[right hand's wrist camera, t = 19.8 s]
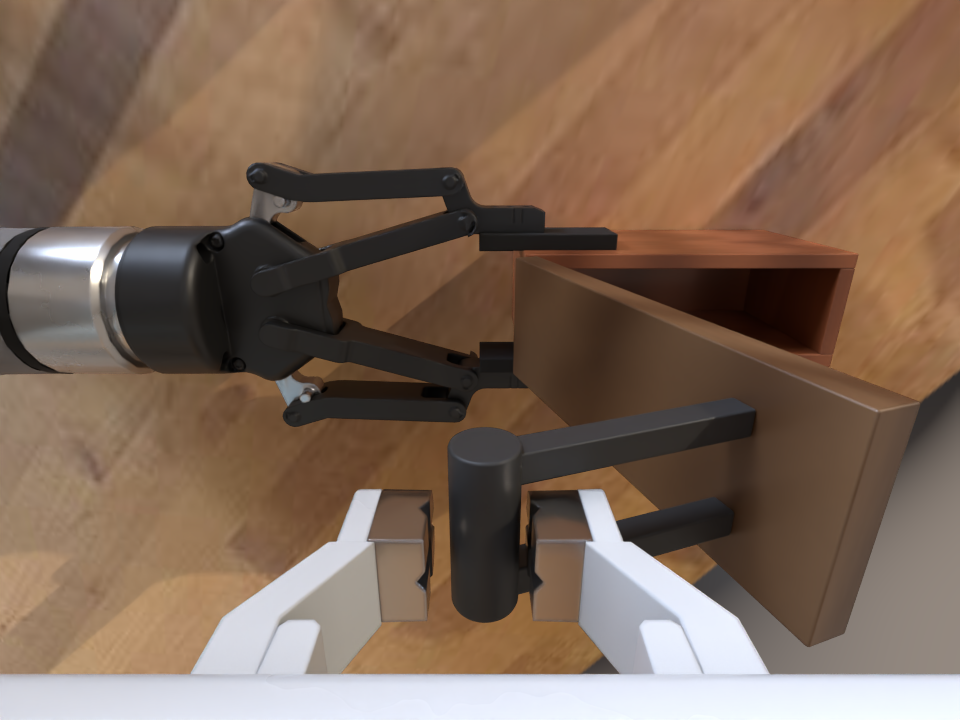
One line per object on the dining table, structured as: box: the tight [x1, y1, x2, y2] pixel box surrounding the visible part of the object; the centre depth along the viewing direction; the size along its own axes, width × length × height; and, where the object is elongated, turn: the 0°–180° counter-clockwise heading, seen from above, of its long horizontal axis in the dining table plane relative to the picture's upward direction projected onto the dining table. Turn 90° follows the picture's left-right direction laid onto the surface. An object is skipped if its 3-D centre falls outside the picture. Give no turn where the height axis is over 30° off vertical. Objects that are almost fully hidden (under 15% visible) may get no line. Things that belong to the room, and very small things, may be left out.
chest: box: [512, 230, 858, 367], centre depth 29 cm, size 15×6×9 cm, turn 90°
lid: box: [448, 256, 920, 647], centre depth 16 cm, size 16×6×8 cm
